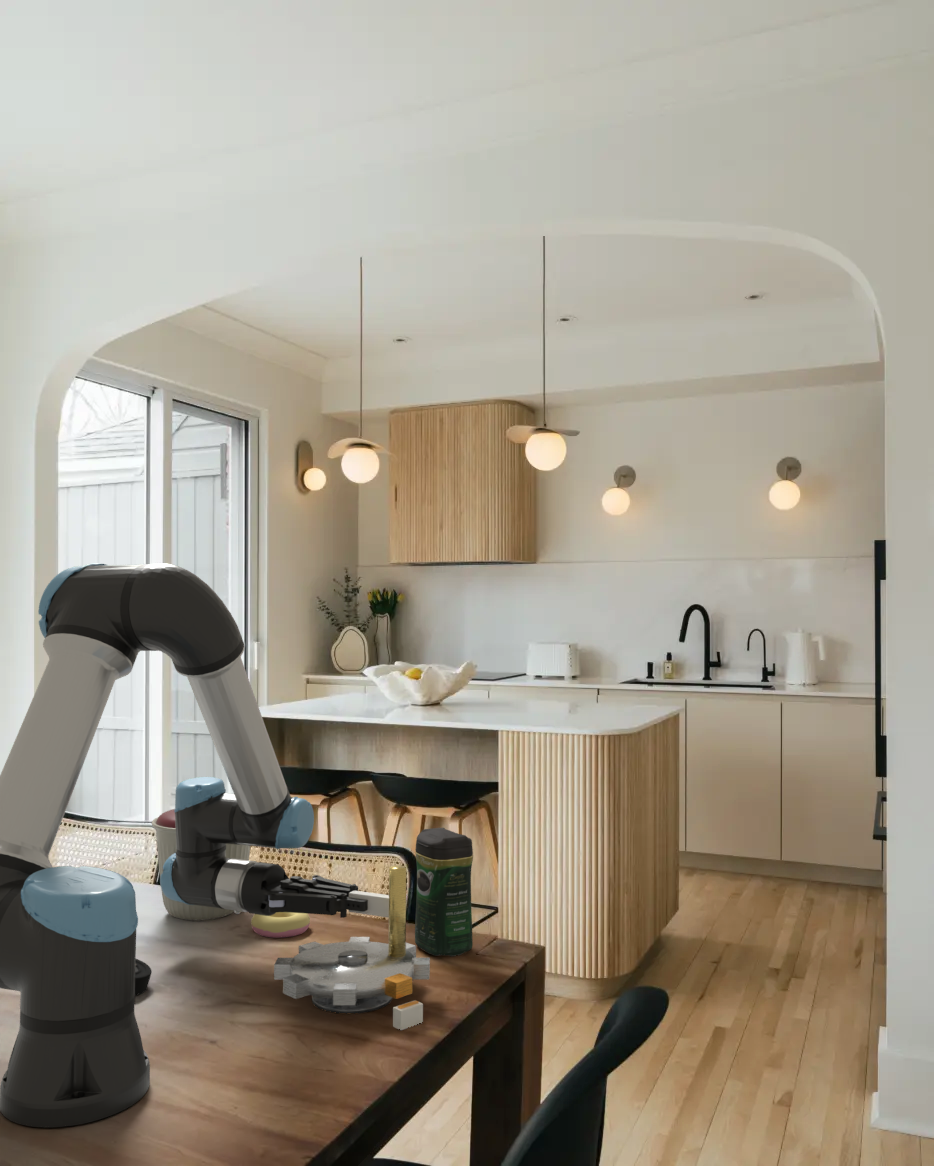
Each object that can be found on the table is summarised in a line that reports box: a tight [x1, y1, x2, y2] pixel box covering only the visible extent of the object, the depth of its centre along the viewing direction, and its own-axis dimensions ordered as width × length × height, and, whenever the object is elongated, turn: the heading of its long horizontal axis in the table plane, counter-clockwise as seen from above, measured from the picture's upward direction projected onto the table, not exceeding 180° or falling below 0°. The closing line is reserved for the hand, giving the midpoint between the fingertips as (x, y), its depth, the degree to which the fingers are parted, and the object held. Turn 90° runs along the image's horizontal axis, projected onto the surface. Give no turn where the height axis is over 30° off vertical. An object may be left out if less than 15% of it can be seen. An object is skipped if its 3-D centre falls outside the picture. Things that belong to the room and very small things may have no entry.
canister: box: [151, 808, 251, 921], centre depth 175 cm, size 18×18×21 cm
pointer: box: [392, 999, 424, 1031], centre depth 126 cm, size 4×2×3 cm, turn 133°
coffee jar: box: [414, 827, 474, 957], centre depth 156 cm, size 10×8×19 cm
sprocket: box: [273, 865, 431, 1005], centre depth 135 cm, size 21×21×14 cm
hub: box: [311, 995, 394, 1015], centre depth 135 cm, size 11×11×3 cm
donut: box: [250, 912, 311, 939], centre depth 165 cm, size 10×5×9 cm
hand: (390, 906), depth 140 cm, fingers closed
